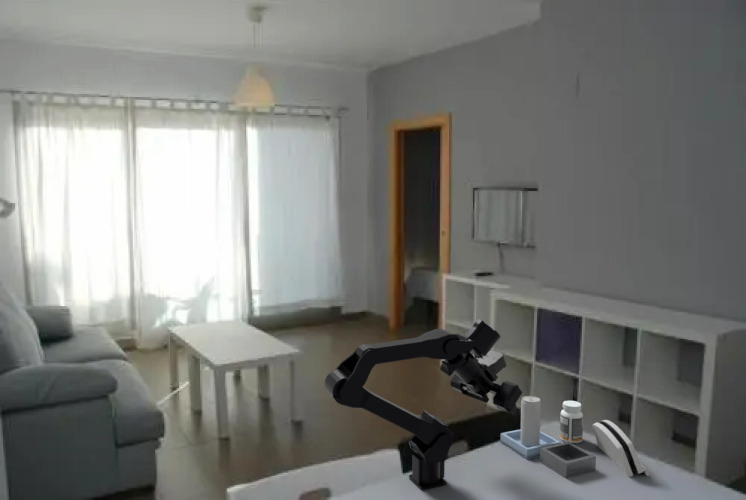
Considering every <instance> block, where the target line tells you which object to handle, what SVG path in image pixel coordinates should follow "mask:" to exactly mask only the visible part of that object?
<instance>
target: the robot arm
mask: <svg viewBox="0 0 746 500" xmlns="http://www.w3.org/2000/svg"><path fill="white" fill-rule="evenodd" d="M500 339H501V335H500V333H499V332H498V331H497V330H495V329H494V328H493V327H491V326H490V325H489V324H487V323H486V322H485V321H484V320H482V319H480V318H477V319H476V320H475V322H474V323H473V324H472V327H470V329H469V330H468V331H467V332H466V333H465V335H461V334H460V333H452V332H450V331H448V330H446V329H443V328H435V329H433V330H428V331H427V332H424V333H422V334H421V335H419V336H416V337H413V338H406V339H399V340H398V339H397V340H390V341H385V342H383V341H382V342H378V343H377V342H375V343H371V344H369V343H363V344H360V345H359V346H357V347H356V348H355V350H354V351H353V352H352V353H351V354H350V355H349V356H348V357H346V358H345V359H343V360H342V361H341V362H340V363H339V364H338V366H336V368H335V369H334V370H332V371H330V372H329V373H328V374H327V376H326V377H325V380H324V389H325V391H326V392H327V393H328V395H330V396H331V398H332V399H333V400H334V401H335V402H336V403H337V404H338V405H341V406H344V407H348V408H350V409H351V408H352V409H361V410H364V411H367V412H369V413H371V414H373V415H375V416H377V417H379V418H381V419H383V420H385V421H386V422H388V423H391V424H393V425H395V426H397V427H399V428H401V429H403V430H405V431H407V432H409V433H410V434H413V435H412V436H411V438H410V439H409V440H408V444H409V447H410V449H411V450H413V451H414V452H415V453H413V454H412V456H411V457H412V467H411V474H408V478H409V480H410V481H412V482H413V483H414V484H415V485H416V487H417V486H418V488H419V489H420V490H421V491H422V490H423V491H424V490H428V489H432V488H437V487H440V486H445V485H447V480H446V479H445V464H446V463H445V462H446V461H447V457H448V455H449V451H450V449H451V447H452V445H453V443H454V433H453V432H452V431H451V429H449V428H450V426H449V424H447V423H446V422H445V421H443V420H442V419H441V418H440V417H438V416H437V415H436V414H435V415H433V414H431V413H429V412H428V411H426V410H425V409H422V413H421V414H415V413H414V412H411V411H410V410H407V409H405V408H404V407H402V406H400V405H398V404H396V403H394V402H392V401H391V400H388V399H386V398H385V397H382V396H380V395H379V394H377V393H375V392H374V391H372V390H369V389H367V388H366V387H365V385H366V382H367V381H368V378H369V376H370V374H371V371H373V368H374V367H375V366H376V365H382V364H387V363H395V362H401V361H406V360H413V359H420V358H424V359H425V358H428V359H435V360H442V361H441V365H440V368H439V370H440V372H442V373H444V374H445V375H446V376H448V377H451V376H452V374H454V375H453V377H452V378H451V380H450V388H452V389H453V390H454V391H456V392H458V393H460V394H462V395H464V396H466V397H470V398H473V399H475V400H478V401H481V402H484V403H488V402H489V400H490V398H489V397H488V393H491V394H493V395H494V396H493V397H492V404H493V405H494V406H495V407H496V409H498V410H500V411H503V412H505V413H509V414H512V415H516V414H517V413H518V408H517V407H518V406H517V402H518V400H519V398H520V397H521V396H522V394H523V389H522V388H521V387H520V385H519V384H516V383H513V382H510V381H507V380H506V381H502V383H501V384H499V383H495V382H496V381H497V380H498V378H499V376H498V375H497V374H498V373H500V372H501V371H502V370H503V369H504V368H506V367H507V366H508V365H507V361H506V359H505V356H504V353H502V352H499V351H496V350H492V349H493V348H494V346H496V344H497V343H498V342H499V340H500Z"/></svg>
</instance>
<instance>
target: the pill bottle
mask: <svg viewBox="0 0 746 500" xmlns="http://www.w3.org/2000/svg"><path fill="white" fill-rule="evenodd" d="M562 408H563V409H561V411H560V415H559V416H560V425H559V438H560V439H561V440H562V441H563V442H570V443H572V444H579V443H581V442H582V441H583V434H584V433H583V431H584V428H583V426H584V414H583V412H582V411H581V410H582V403H580V402H579V401H576V400H564V401H563V402H562Z"/></svg>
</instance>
